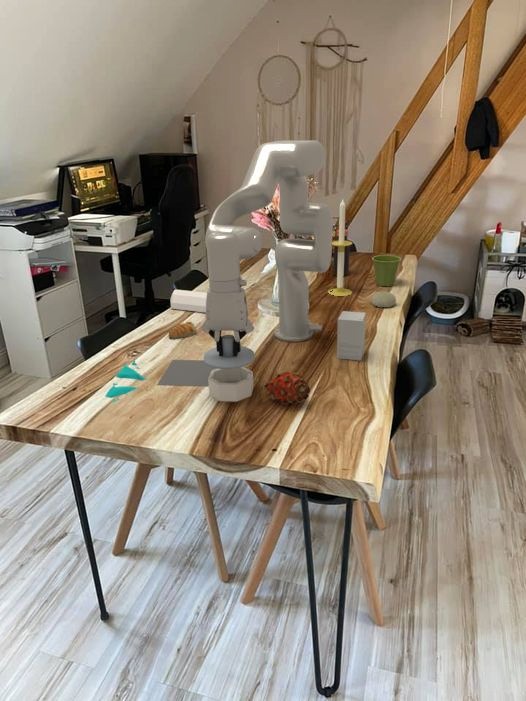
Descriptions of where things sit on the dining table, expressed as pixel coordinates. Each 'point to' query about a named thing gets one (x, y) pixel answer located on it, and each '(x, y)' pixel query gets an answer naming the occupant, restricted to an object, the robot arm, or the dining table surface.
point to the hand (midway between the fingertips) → (228, 353)
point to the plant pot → (385, 269)
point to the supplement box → (351, 335)
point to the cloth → (118, 391)
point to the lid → (228, 355)
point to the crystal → (188, 300)
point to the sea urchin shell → (383, 299)
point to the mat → (186, 373)
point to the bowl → (231, 384)
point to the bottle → (346, 255)
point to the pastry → (183, 330)
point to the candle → (341, 255)
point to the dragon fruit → (288, 388)
